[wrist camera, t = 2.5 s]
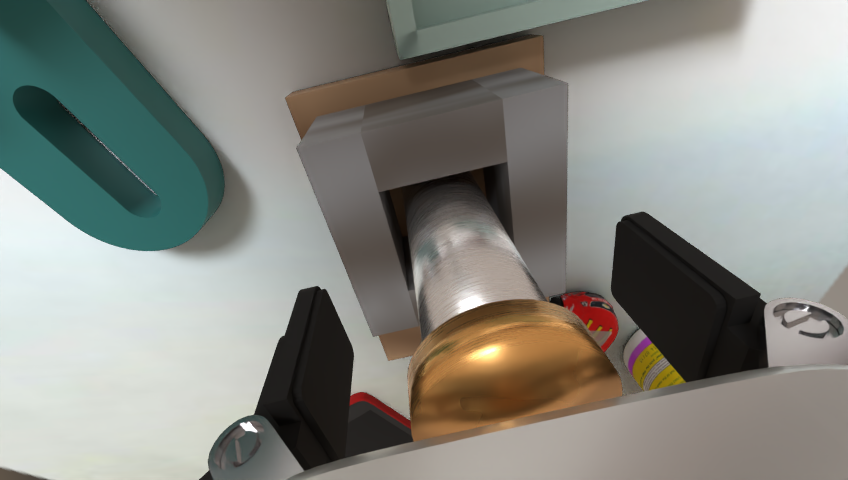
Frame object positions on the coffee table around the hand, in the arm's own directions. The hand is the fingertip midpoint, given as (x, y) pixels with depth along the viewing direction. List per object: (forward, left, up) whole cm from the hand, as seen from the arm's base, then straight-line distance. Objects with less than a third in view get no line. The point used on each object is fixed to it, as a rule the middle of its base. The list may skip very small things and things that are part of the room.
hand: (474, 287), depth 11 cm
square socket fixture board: (+3, 0, -9) cm, 9 cm away
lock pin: (0, 0, -8) cm, 8 cm away
